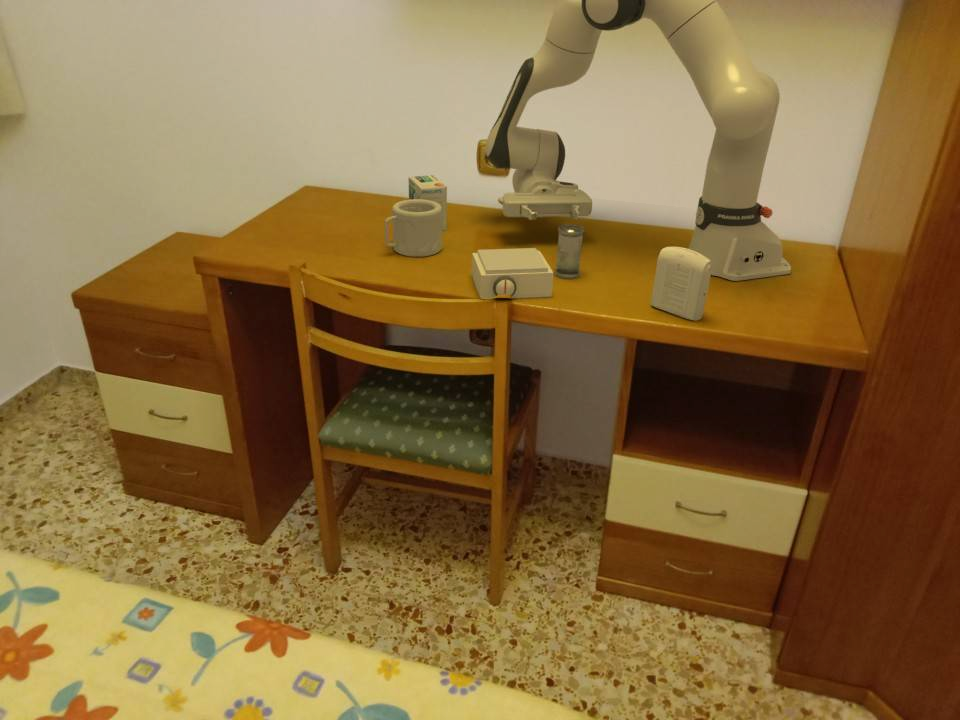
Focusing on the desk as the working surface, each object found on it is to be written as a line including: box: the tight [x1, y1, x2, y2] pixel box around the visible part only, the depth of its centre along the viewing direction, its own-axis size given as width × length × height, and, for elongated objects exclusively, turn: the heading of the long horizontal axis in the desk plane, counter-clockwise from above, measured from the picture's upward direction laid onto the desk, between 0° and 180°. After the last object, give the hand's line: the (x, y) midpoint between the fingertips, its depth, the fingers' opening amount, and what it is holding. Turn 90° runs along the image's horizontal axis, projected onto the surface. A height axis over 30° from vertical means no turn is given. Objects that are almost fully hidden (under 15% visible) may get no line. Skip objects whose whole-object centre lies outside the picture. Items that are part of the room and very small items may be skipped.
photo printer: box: [650, 246, 712, 322], centre depth 139 cm, size 10×4×12 cm, turn 47°
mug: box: [384, 199, 443, 258], centre depth 164 cm, size 14×11×10 cm
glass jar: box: [554, 223, 585, 280], centre depth 154 cm, size 5×5×10 cm
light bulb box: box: [408, 174, 448, 232], centre depth 180 cm, size 11×7×11 cm, turn 21°
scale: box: [471, 247, 555, 299], centre depth 148 cm, size 14×13×6 cm
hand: (554, 216), depth 163 cm, fingers open, 8 cm apart
